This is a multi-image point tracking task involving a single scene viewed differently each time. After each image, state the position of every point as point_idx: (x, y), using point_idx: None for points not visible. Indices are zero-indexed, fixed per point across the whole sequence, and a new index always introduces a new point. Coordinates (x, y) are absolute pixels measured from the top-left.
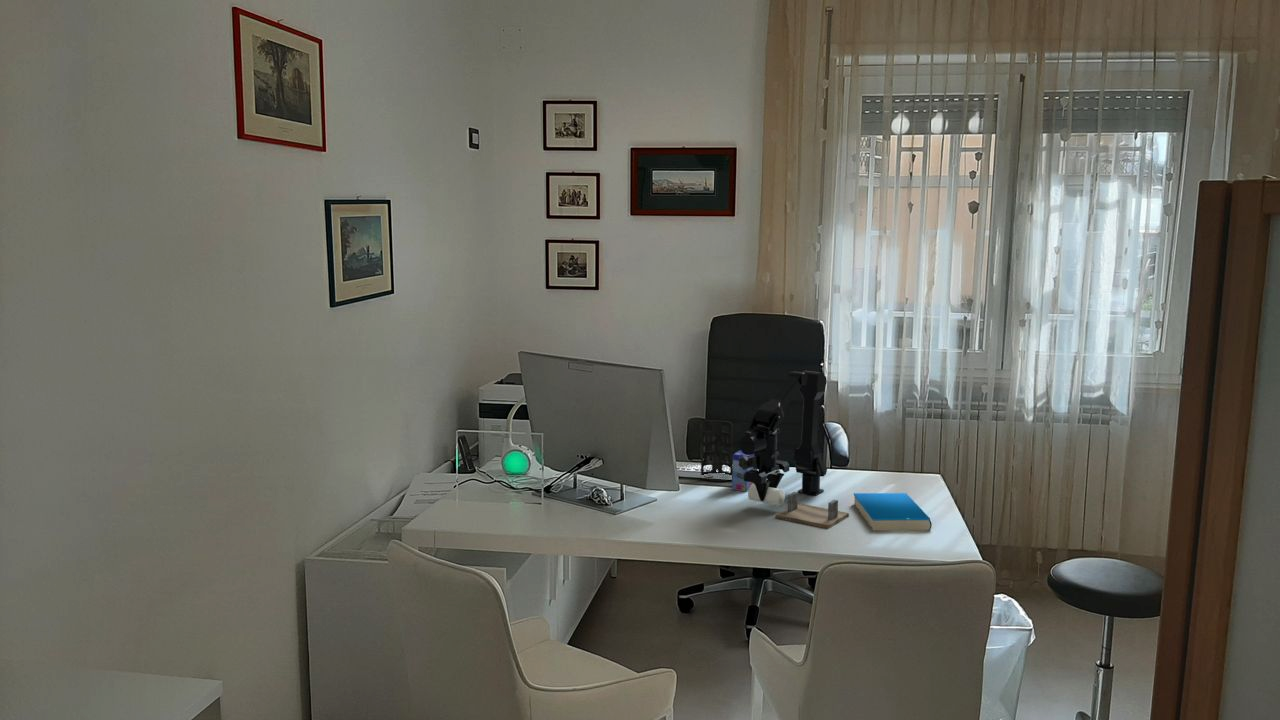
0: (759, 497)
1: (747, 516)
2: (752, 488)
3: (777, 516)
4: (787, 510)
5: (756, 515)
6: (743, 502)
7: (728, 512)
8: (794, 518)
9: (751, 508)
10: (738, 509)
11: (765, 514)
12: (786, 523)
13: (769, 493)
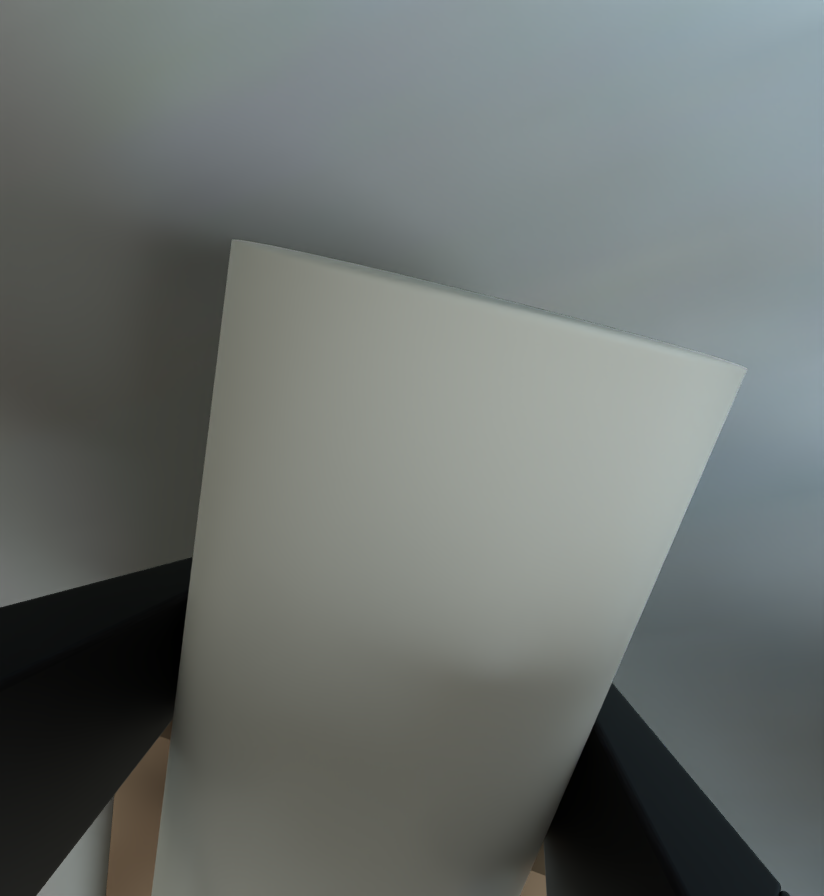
0: (173, 565)
1: (18, 376)
2: (232, 386)
3: None
4: None
5: (111, 475)
6: (666, 66)
7: (19, 34)
8: (106, 894)
9: None
10: (227, 139)
11: None
12: None
13: (162, 837)
